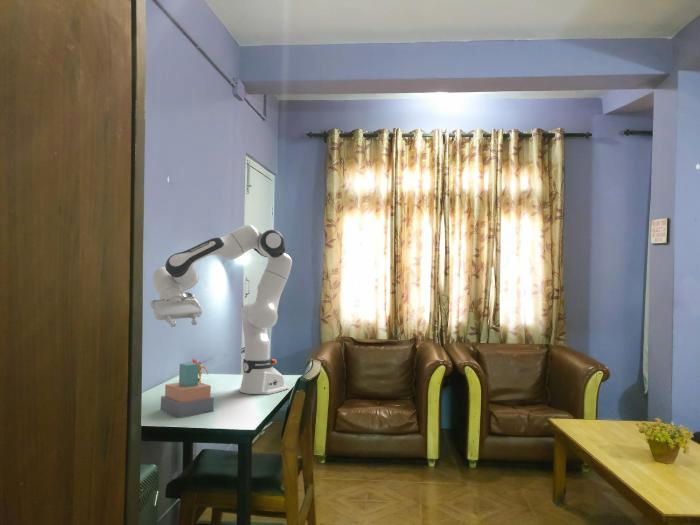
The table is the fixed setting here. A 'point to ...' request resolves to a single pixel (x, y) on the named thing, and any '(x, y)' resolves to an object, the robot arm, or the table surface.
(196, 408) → the brick tower
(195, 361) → the bird rattle
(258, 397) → the table surface
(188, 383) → the teal brick
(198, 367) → the figurine
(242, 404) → the table surface
